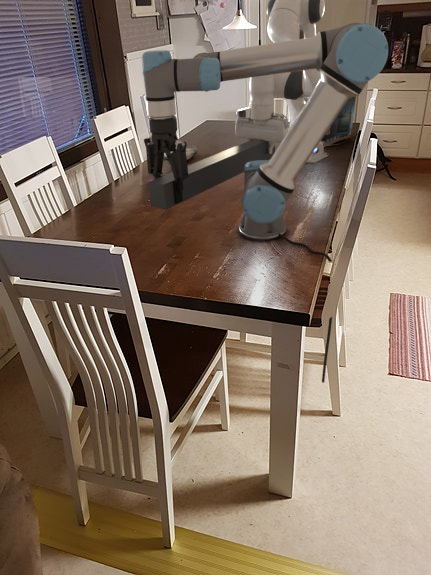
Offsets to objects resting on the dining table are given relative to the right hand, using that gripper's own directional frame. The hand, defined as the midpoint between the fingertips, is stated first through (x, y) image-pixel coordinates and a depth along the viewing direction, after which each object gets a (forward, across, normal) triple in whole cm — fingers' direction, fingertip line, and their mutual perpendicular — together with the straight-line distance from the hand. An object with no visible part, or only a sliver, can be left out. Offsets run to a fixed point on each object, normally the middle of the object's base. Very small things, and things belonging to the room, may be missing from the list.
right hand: (261, 152), depth 167 cm
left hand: (+1, 0, +51) cm, 51 cm away
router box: (+19, +14, -90) cm, 93 cm away
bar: (+2, 0, +26) cm, 26 cm away
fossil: (+18, +65, -29) cm, 74 cm away
